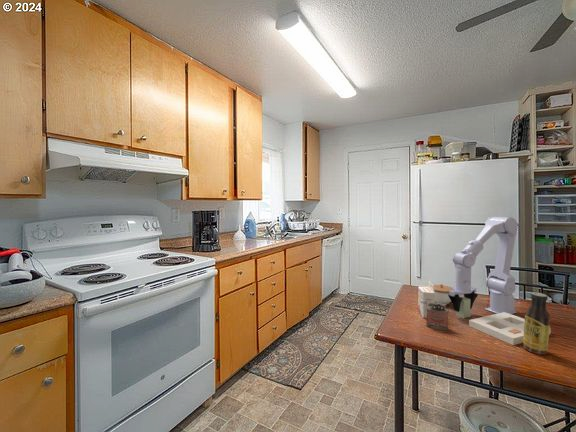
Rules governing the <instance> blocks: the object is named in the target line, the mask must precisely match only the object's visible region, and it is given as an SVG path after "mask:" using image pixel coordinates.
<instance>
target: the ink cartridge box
mask: <svg viewBox="0 0 576 432" xmlns="http://www.w3.org/2000/svg"><path fill="white" fill-rule="evenodd" d="M434 285H435V284H433V283H432V282H431V281H430V280H428V286H418V287H417V288H418V289H417V290H418V291H417V292H418V293H417V294H418V297H417V298H418V301H417V304H418V305H417V311H418V312H419V314H420V315H421V316H422V318H423V319H427V310H426V308H427V307H432V306H428V303H435V291H434ZM431 286H432V287H431ZM435 304H436V303H435ZM434 308H435V307H434Z"/></svg>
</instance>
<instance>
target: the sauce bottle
mask: <svg viewBox="0 0 576 432" xmlns="http://www.w3.org/2000/svg"><path fill="white" fill-rule="evenodd" d="M530 298H531V299H530V300H531V302H530V306H529V307H528V309H527V311H526V313H525V315H524V319H525V323H524V336H523V343H522V344H523V345H522V346H523V348H524V349H525V350H527V351H528V352H530V353H532V354H536V355H541V356H542V355H546V354H547V353H548V350H549V339H550V335H549V329H550V328H551V327H550V326H551V325H550V323H551V316H550V314H549V312H548V310H547V301H548V295H547V294H544V293H541V292H535V291H533V292H531V294H530Z"/></svg>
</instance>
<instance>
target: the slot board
mask: <svg viewBox="0 0 576 432" xmlns="http://www.w3.org/2000/svg"><path fill="white" fill-rule="evenodd" d="M524 323H525V318H523V317H520V316H517V315H514V314H509V313H506V312H503V313H498V314H497V313H495V314H490V315H489V314H488V315H485V316H481V317H477V318H472V319H469V320H468V326H469V327H471V328H472V329H475V330H478V331H479V332H482V333H484V334H486V335H489V336H491V337H493V338H495V339H498V340H501V341H502V342H505V343H507V344H510V345H512V346H516V345H520V344H523V336H524ZM551 330H552V329H551V327H550V329H549V336H550V335H551Z"/></svg>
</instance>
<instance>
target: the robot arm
mask: <svg viewBox="0 0 576 432" xmlns="http://www.w3.org/2000/svg"><path fill="white" fill-rule="evenodd" d="M484 225H485V226H484V227H483V229H482V230H481V231H480V233H479V234H478V235H477V236H476V239H475V240H473V239H472V240H469V241H468V243H467V244H466V246H464V248H463V249H462V250H461V251H459V252H456V253H455V254H454V255H453V258H452V262H453V264H454V267H455V286H454V287H453V290H451V291H449V294H448V296H449V298H450V300H451V302H450V303H451V305H452V308H453V311H454V312H455V311H457V312H459V310H460V304H461V301H462V299H463V298H461V296H460V295H463V297H465V298H468V299H470V310H472V308H473V305H474V303H475V301H476V299H477V298H478V296H479V295H478V293H477V288H476V287H474V286H472V267H473V266H474V265H475V264H476V260H477V257H478V256H479V254H480V253H481V252H482V251H483V250H484V248H485V247H484V244H485V243H486V242H487V241H489V239H490V238H491V237H493V235H495V234H496V235H497V236H498V237H499V243H498V248H497V255H496V259H495V264H494V270H493V271H490V272H489V273H488V277H487V278H486V280H485V285H486V288H487V289H488V291H489V307H485V311H489V312H491V313H495V314H498V313H503V312H506V313H509V314H512V315H514V314H516V313H517V310H516V311H515V302H516V300H515V296H514V293H515V292H516V289H517V287H516V279H515V278H514V276H513V275H512V274H510V272H511V266H512V260H513V256H514V255H513V254H514V248H515V243H516V242H515V241H516V238H517V237H516V236H517V234H518V233H517V231H518V226H519V222H518V221H517V219H516V218H514V217H512V216H510V217H505V216H493V215H492V216H491V215H490V217H489V216H488V218H487V220H486V221H485V222H484Z"/></svg>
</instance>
